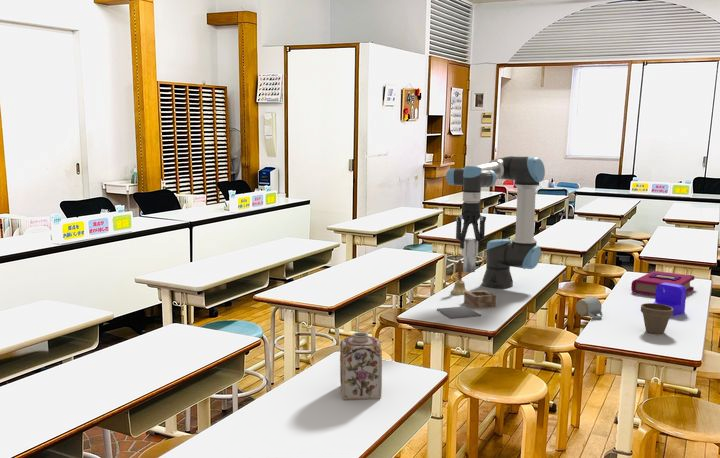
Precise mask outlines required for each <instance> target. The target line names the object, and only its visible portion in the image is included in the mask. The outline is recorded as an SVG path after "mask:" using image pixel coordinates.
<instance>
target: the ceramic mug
mask: <svg viewBox="0 0 720 458" xmlns="http://www.w3.org/2000/svg"><path fill="white" fill-rule="evenodd" d="M602 308H603V307H602V303H601V301H600V300H599V298H597V297H596V296H589V297H586V298H582V299H579V300H578V301H577V302H576V304H575V310H576V313H577V314H578V315H579V316H581V317H590V318H591V319H594V320H601V319H602V317H603V312H602ZM598 315H599V316H598Z"/></svg>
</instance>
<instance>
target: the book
mask: <svg viewBox="0 0 720 458" xmlns="http://www.w3.org/2000/svg"><path fill="white" fill-rule="evenodd" d="M694 280H695V275H693V274H692V275H691V274H681V273H674V272H668V271H667V272H666V271H665V272H664V271H658V270H653V271H650V272H648V273H646V274H644V275H642V276H639V277H638V278H636V279H633V280H632V281H631V286H630V288H631V293H633V294H639V295H643V296H644V295H645V296H650V297H656V287H657V285H659V284H662V283H671V284H677V285H682V286H684V287H685V288H686V295H687V294H688V293H690V292H691V291H694V289H695V288H694V287H695V286H691V282H692V281H694ZM663 289H664V291H665V288H664V287H663Z"/></svg>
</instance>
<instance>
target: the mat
mask: <svg viewBox="0 0 720 458" xmlns="http://www.w3.org/2000/svg"><path fill="white" fill-rule="evenodd" d="M436 311H438V312H439V311H440V313H441V314H442V313H443V314H442V315H444V316H445V317H447V318H449V319H460V318H472V317H473V318H474V317H481V316H482V314H481V313H479V312H478V311H476V310H474V309H472V308H470V307H468V306H466V305H464V306H454V307H453V306H452V307H451V306H450V307H442V308H439V307H438V308H436Z"/></svg>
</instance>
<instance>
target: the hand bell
mask: <svg viewBox="0 0 720 458" xmlns="http://www.w3.org/2000/svg"><path fill="white" fill-rule="evenodd" d="M456 267H457V274H458V275H457V276H458V277H457V278H458V279H457V280H455V282H454V287H453V288H452V290H450V293H451V294H453V295H458V296H462V295H463V296H464V292H467V291H468V290H467V288H466V285H465V281H464V280H463V278H462V273H463V261H462V260H461V259H458V262H457V264H456Z"/></svg>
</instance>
